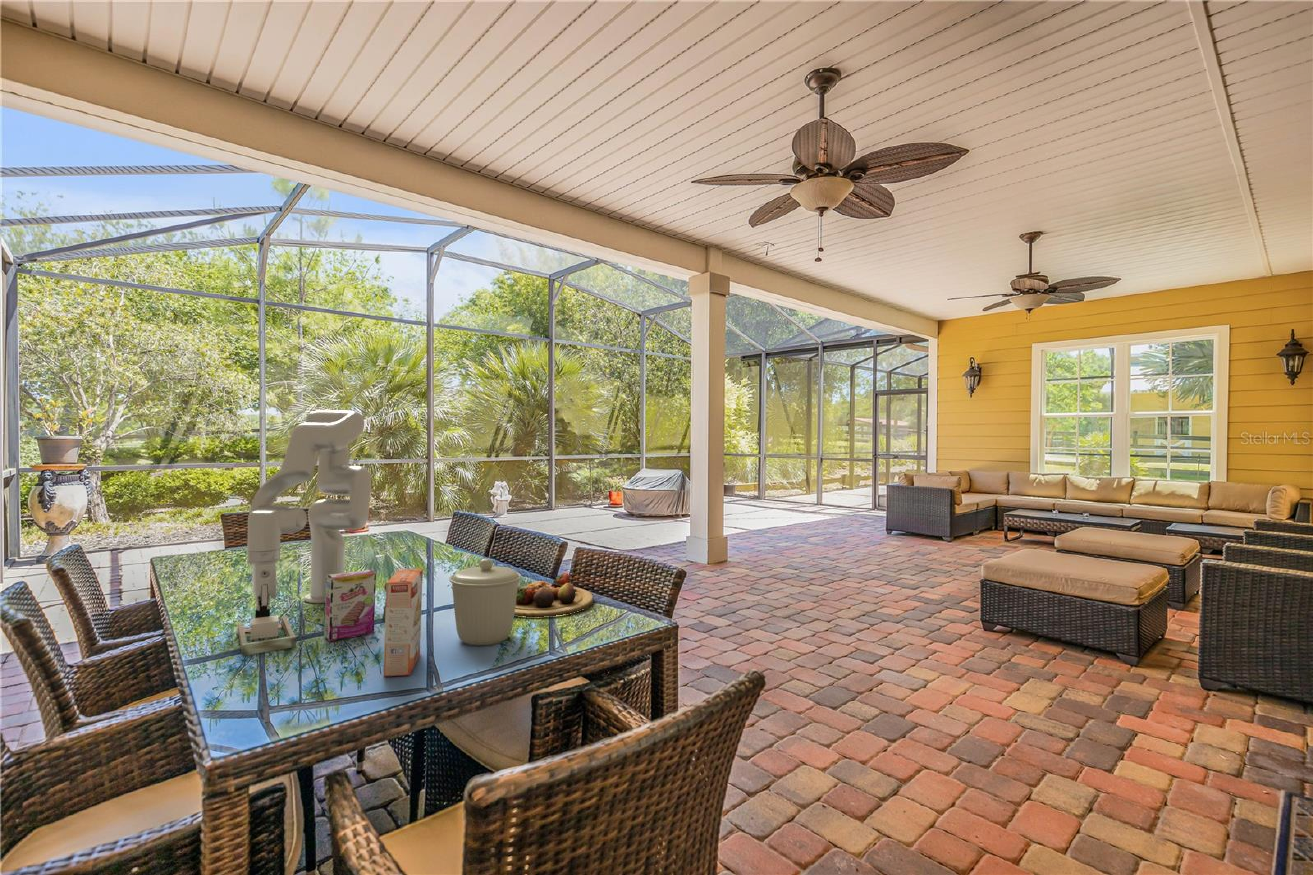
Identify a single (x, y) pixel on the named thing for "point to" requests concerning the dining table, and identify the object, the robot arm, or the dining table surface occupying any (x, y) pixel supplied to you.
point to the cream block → (264, 627)
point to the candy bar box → (349, 604)
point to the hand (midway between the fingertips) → (262, 624)
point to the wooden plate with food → (551, 598)
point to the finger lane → (267, 644)
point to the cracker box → (402, 622)
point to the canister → (484, 602)
